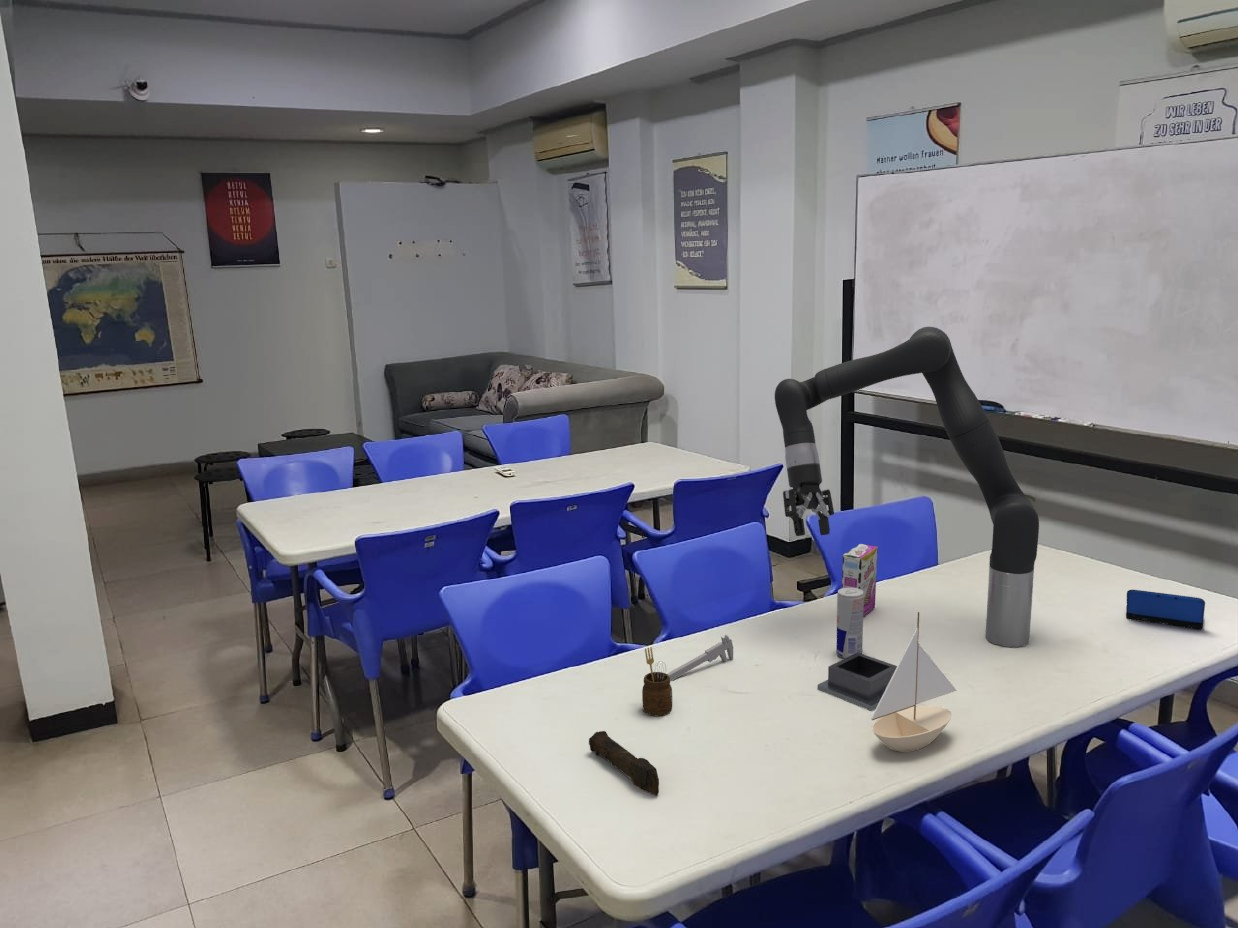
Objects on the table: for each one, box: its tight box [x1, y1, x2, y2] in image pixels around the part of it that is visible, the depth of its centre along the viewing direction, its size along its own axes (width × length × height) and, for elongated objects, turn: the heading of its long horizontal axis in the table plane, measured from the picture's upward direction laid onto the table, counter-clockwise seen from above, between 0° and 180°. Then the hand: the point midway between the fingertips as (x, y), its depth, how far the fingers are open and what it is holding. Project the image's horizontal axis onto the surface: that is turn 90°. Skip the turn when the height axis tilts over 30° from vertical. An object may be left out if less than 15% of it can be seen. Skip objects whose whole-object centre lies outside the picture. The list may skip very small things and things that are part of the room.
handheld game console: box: [1125, 589, 1206, 631], centre depth 218 cm, size 16×13×9 cm
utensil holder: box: [641, 646, 673, 717], centre depth 183 cm, size 6×6×12 cm
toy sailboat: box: [870, 611, 957, 753], centre depth 166 cm, size 21×25×9 cm
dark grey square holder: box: [817, 652, 898, 712], centre depth 189 cm, size 13×13×5 cm
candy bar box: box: [841, 543, 879, 618], centre depth 228 cm, size 11×5×16 cm, turn 144°
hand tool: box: [588, 730, 660, 796], centre depth 161 cm, size 19×4×5 cm, turn 31°
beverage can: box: [835, 587, 864, 659], centre depth 204 cm, size 6×6×15 cm
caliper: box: [666, 634, 734, 682], centre depth 200 cm, size 20×1×6 cm, turn 124°
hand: (813, 535), depth 210 cm, fingers open, 8 cm apart
